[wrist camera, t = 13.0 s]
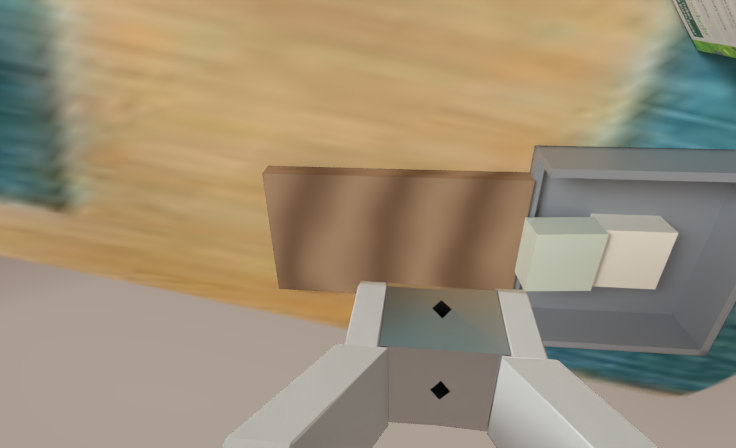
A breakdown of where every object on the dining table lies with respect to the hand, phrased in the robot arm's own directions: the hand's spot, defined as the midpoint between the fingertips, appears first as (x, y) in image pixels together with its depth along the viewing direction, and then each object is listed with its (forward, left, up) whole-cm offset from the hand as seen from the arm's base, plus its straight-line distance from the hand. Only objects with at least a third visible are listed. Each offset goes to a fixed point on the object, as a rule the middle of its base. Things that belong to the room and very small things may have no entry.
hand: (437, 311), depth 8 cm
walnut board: (+2, +12, -24) cm, 27 cm away
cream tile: (-16, +12, -23) cm, 31 cm away
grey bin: (-16, +12, -24) cm, 31 cm away
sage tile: (-11, +12, -23) cm, 28 cm away
